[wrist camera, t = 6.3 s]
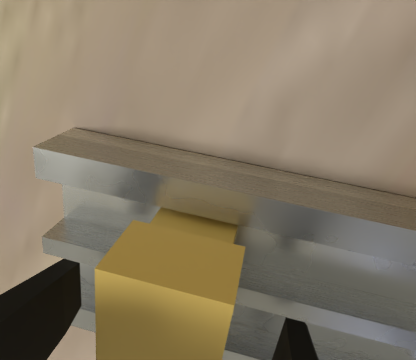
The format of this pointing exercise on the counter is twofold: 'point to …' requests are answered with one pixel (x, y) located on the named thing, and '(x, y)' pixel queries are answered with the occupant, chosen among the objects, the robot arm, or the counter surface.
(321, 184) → the rail
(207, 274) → the yellow block with ridge
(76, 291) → the robot arm
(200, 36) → the counter surface
